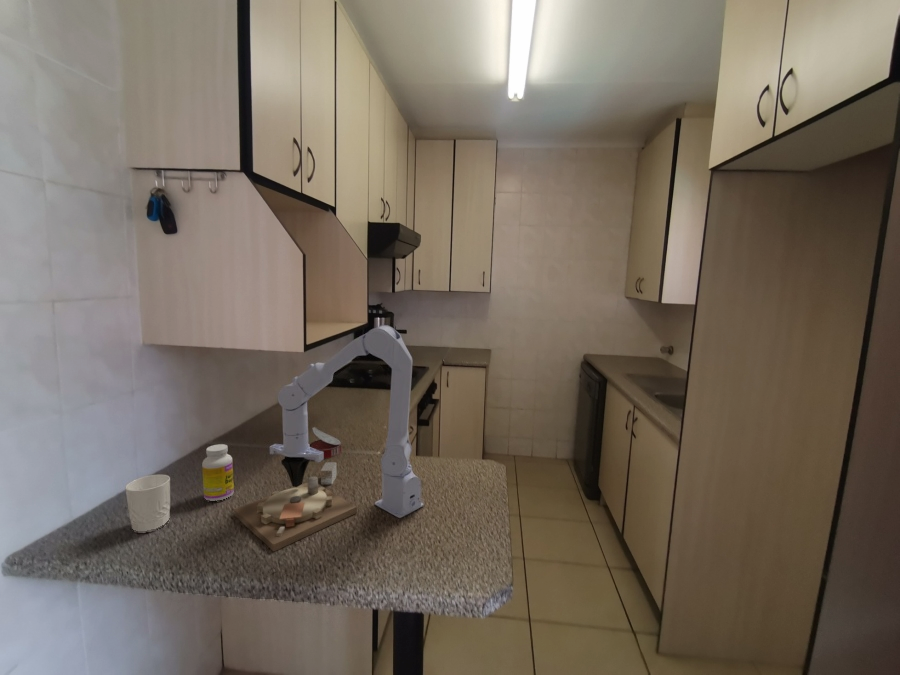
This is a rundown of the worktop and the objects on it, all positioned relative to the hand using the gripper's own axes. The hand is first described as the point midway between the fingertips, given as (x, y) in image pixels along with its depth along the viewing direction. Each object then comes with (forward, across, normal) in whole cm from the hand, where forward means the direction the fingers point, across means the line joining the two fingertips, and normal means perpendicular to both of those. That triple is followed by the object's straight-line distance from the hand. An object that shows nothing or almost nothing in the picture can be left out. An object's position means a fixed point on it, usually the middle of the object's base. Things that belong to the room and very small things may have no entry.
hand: (297, 485), depth 102 cm
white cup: (+5, +24, +20) cm, 31 cm away
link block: (+5, 0, -13) cm, 14 cm away
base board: (+4, -3, +5) cm, 7 cm away
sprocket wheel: (+3, -3, +5) cm, 6 cm away
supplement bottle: (+5, +20, +4) cm, 22 cm away
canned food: (+5, +13, -29) cm, 32 cm away
